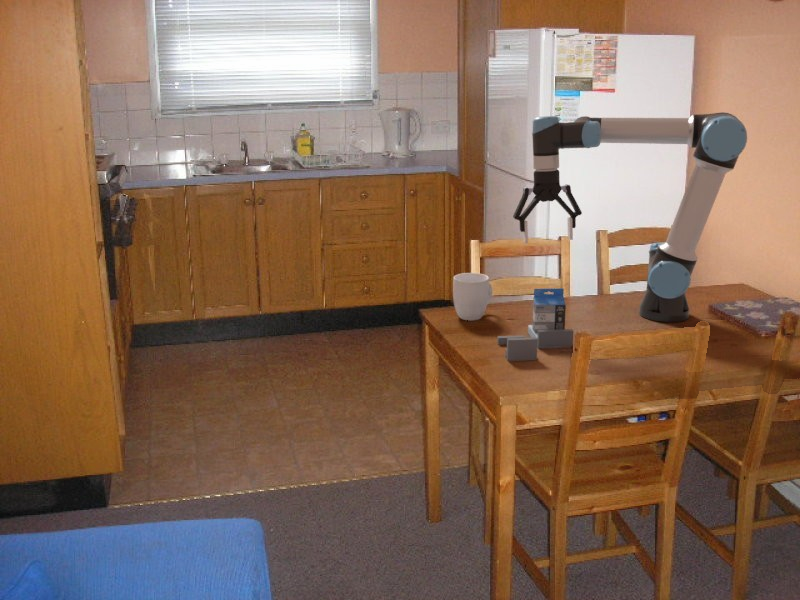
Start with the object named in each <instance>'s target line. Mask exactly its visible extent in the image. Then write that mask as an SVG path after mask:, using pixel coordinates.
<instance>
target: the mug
mask: <svg viewBox="0 0 800 600" xmlns="http://www.w3.org/2000/svg"><path fill="white" fill-rule="evenodd" d="M452 279H453V283H452V298H453V306H454V309H455V312H456V314H457V315H458V318H459V319H460V320H463V321H467V320H468V322H469V321H472V322H473V321H479V320H480V319H482V318H483V315H484V314H485V311H486V309H487V306H488V304H489V303H490V301H491V300H492V297H493V287H492V284H491V283H490V278H489V276H488V275H486V274H484V273H478V272H462V273H458V274H455V275H454V276H453V278H452Z"/></svg>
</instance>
